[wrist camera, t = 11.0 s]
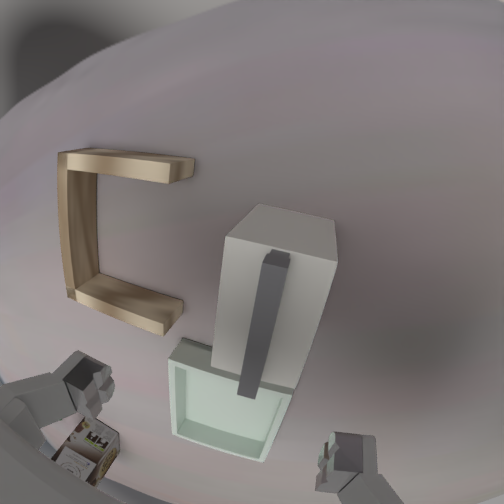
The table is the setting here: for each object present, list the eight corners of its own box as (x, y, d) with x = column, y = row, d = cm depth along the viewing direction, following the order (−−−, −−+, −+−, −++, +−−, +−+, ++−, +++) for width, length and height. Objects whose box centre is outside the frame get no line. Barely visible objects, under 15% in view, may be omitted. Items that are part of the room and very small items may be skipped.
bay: (195, 158, 19) (170, 163, 16) (182, 312, 24) (163, 336, 21) (87, 147, 21) (57, 152, 18) (91, 280, 26) (67, 297, 23)
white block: (334, 220, 19) (339, 278, 11) (306, 322, 22) (291, 409, 14) (258, 203, 20) (213, 248, 12) (241, 306, 23) (200, 384, 15)
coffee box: (86, 411, 37) (33, 478, 23) (119, 432, 37) (69, 505, 22) (91, 434, 41) (47, 493, 27) (120, 452, 41) (79, 515, 26)
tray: (297, 369, 24) (292, 395, 21) (269, 441, 29) (263, 462, 26) (182, 337, 25) (168, 358, 23) (182, 415, 30) (172, 434, 27)
